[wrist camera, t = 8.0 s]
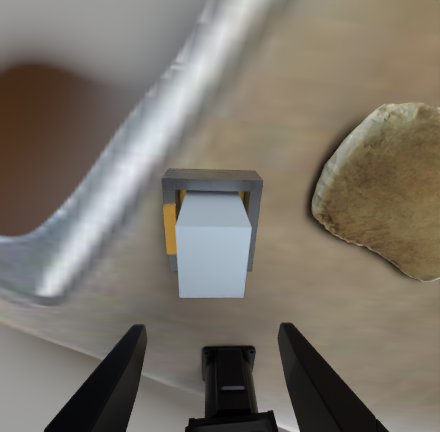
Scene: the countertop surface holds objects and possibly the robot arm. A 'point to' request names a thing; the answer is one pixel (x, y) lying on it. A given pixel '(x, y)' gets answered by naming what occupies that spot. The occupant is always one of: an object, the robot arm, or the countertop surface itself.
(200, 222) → the pale blue upright block
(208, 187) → the rack
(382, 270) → the countertop surface
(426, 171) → the stone tool
